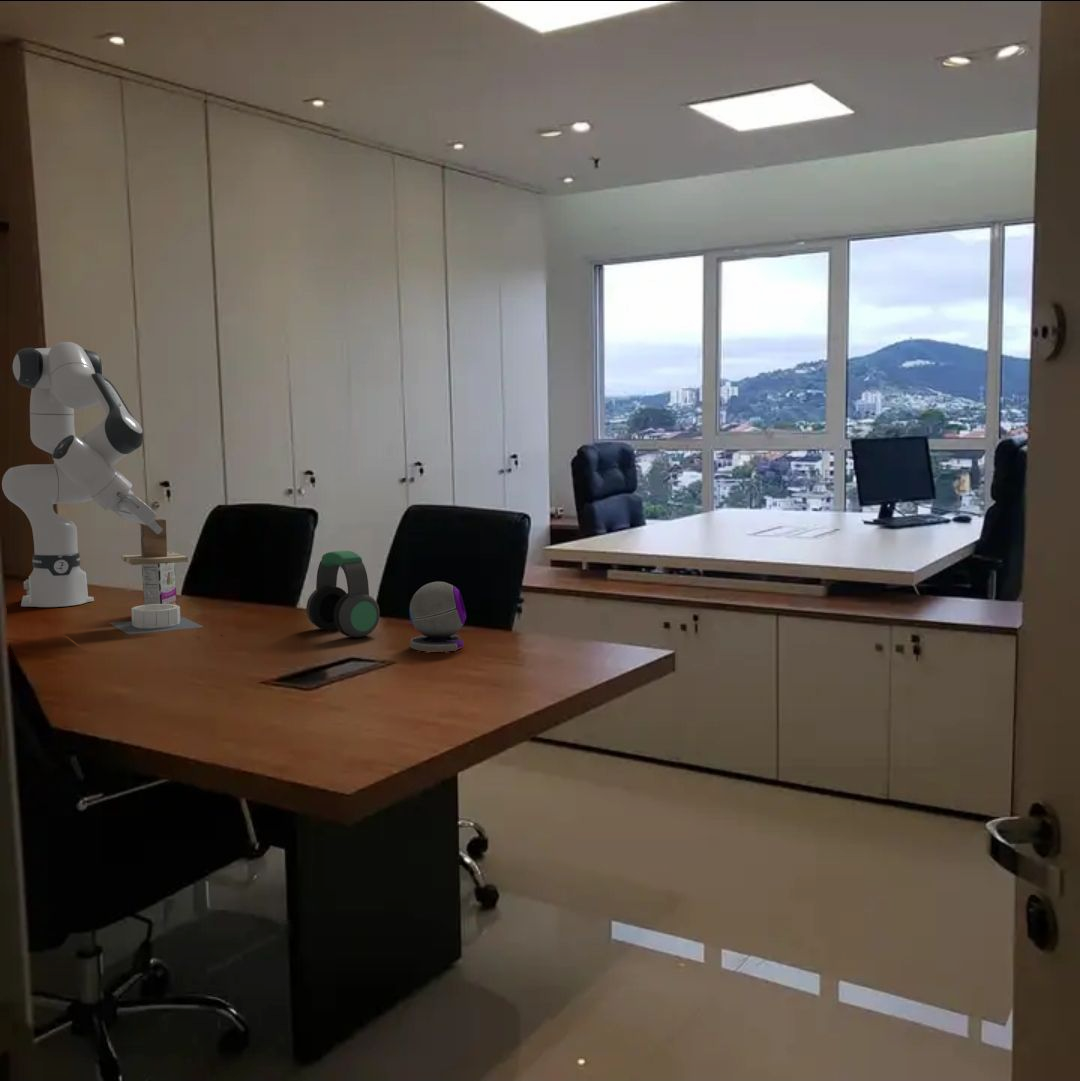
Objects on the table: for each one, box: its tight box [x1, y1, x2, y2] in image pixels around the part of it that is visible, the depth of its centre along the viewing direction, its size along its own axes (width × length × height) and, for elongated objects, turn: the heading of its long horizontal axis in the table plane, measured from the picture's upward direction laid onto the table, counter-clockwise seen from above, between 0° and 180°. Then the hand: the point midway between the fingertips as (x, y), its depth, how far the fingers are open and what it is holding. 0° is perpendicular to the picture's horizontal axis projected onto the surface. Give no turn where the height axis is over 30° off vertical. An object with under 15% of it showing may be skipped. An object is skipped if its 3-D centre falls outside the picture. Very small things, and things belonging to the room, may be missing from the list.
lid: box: [120, 518, 189, 566], centre depth 263 cm, size 13×13×10 cm
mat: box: [109, 616, 204, 635], centre depth 265 cm, size 18×18×1 cm
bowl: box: [130, 604, 181, 629], centre depth 265 cm, size 11×11×4 cm
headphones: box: [305, 550, 381, 638], centre depth 258 cm, size 19×11×20 cm, turn 42°
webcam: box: [408, 581, 467, 651], centre depth 242 cm, size 13×13×15 cm
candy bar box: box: [141, 551, 178, 605], centre depth 279 cm, size 11×5×16 cm, turn 179°
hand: (156, 531), depth 263 cm, fingers closed on lid, 5 cm apart
